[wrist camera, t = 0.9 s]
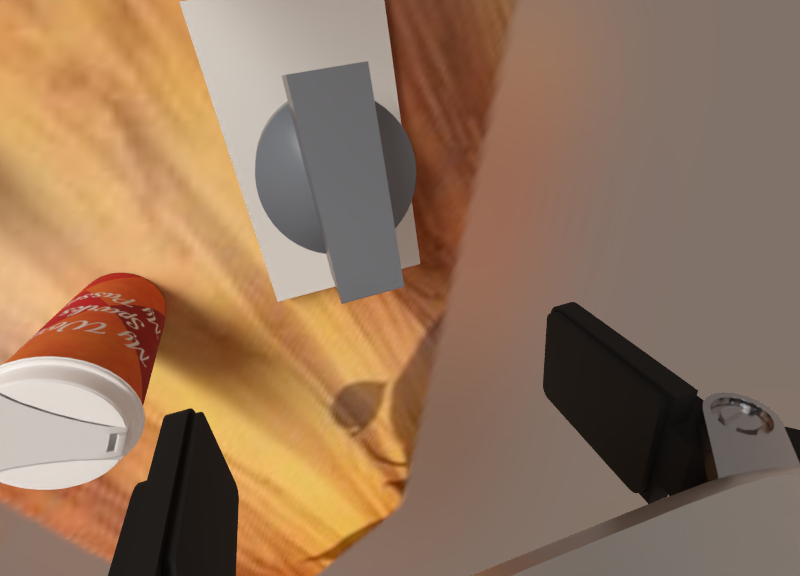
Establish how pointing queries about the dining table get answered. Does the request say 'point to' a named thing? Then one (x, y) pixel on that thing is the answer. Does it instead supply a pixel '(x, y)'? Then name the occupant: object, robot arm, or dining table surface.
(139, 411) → the paper cup
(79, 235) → the dining table surface
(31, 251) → the dining table surface
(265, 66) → the base
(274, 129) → the lock knob
